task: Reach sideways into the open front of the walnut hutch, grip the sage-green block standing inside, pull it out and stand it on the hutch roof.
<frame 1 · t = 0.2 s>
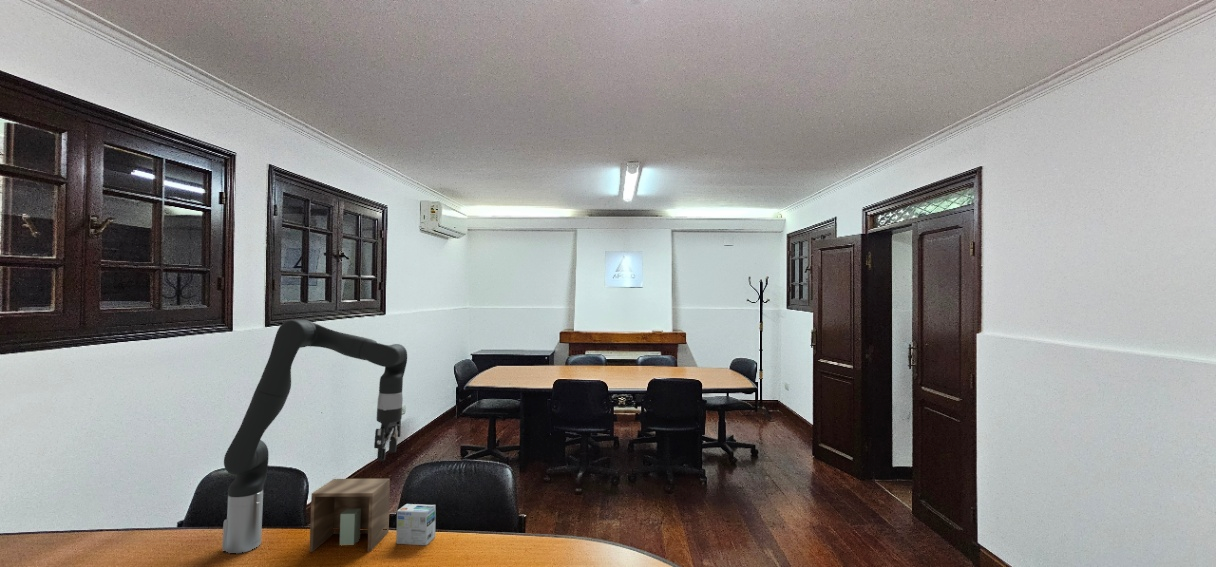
hand: (386, 456, 166), 29 cm above the table, tool pointing down, fingers open, 8 cm apart
block: (349, 542, 167), on the table
light bulb box: (415, 541, 168), on the table
hutch: (350, 541, 167), on the table
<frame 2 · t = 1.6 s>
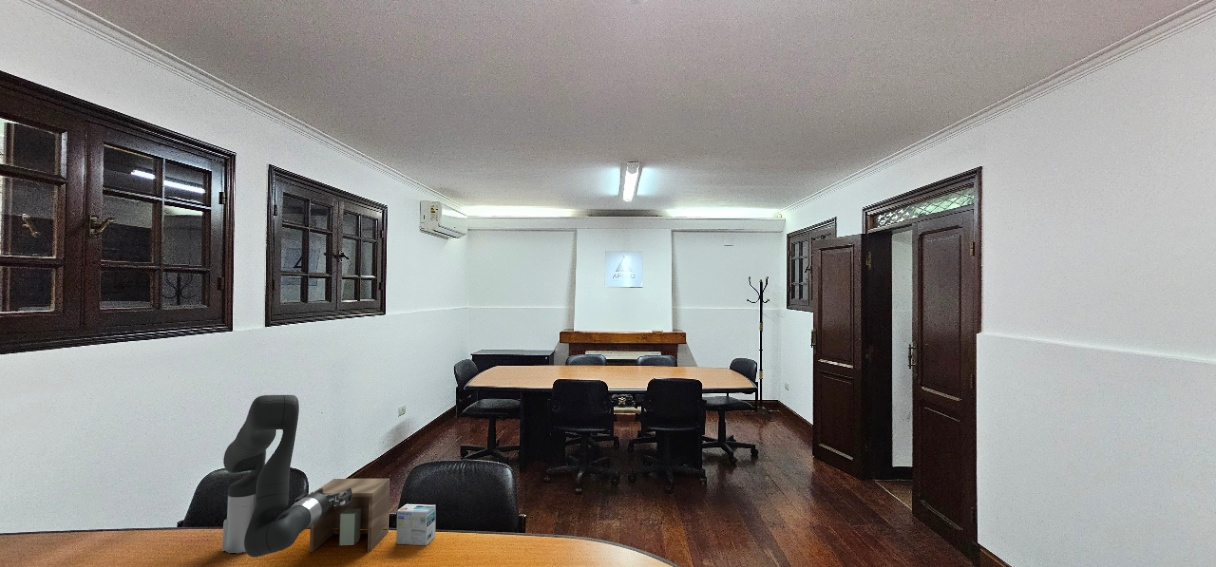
hand: (335, 491, 157), 20 cm above the table, tool horizontal, fingers open, 8 cm apart
nothing on the table moved.
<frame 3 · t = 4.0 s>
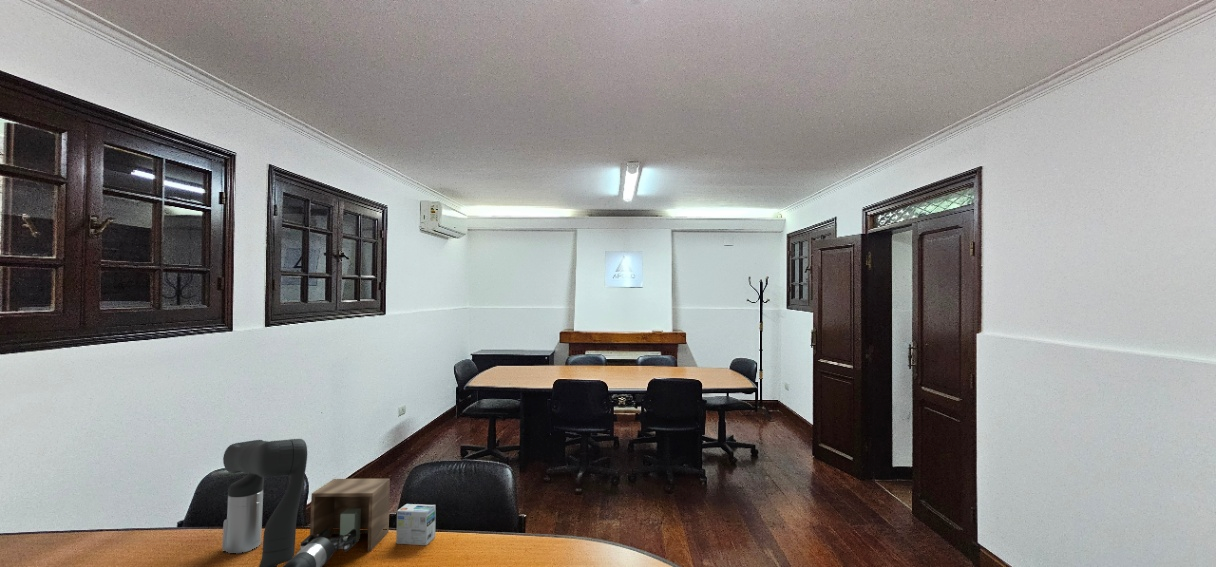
hand: (340, 532, 160), 6 cm above the table, tool horizontal, fingers open, 8 cm apart
nothing on the table moved.
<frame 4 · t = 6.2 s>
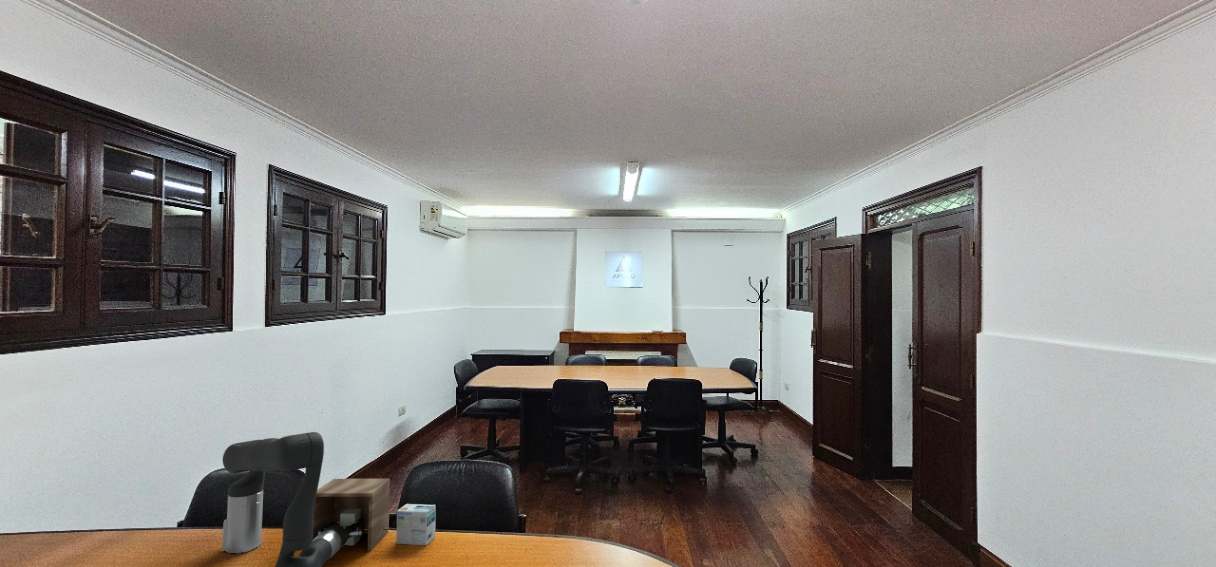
hand: (354, 520, 170), 6 cm above the table, tool horizontal, fingers closed on block, 4 cm apart
block: (349, 542, 167), on the table, touching gripper
everything else where it was.
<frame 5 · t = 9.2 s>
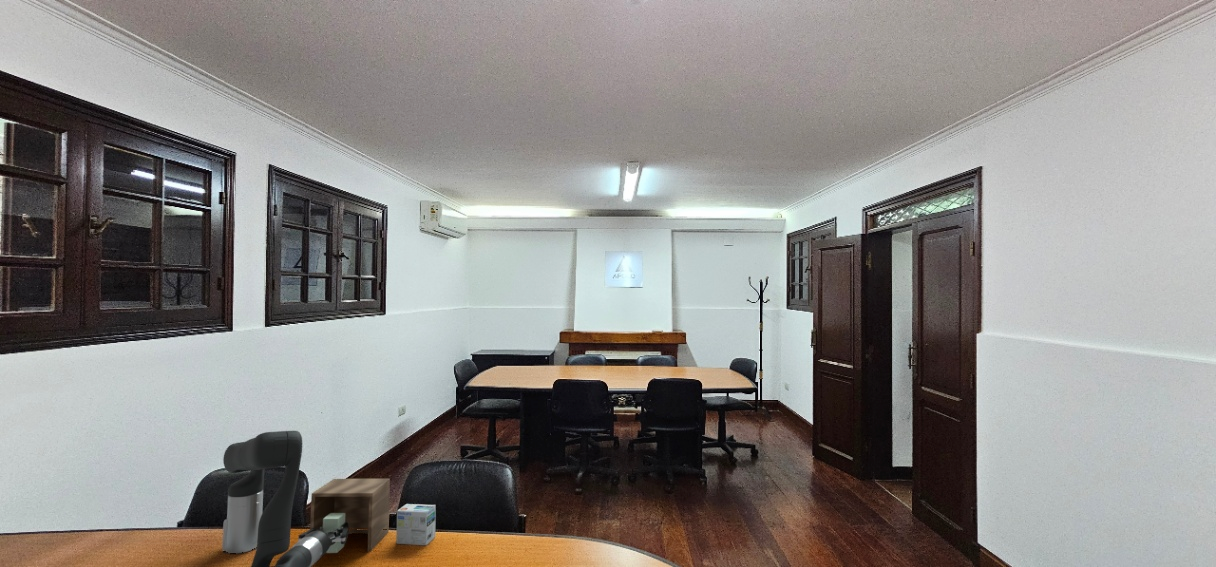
hand: (338, 525, 159), 9 cm above the table, tool horizontal, fingers closed on block, 4 cm apart
block: (333, 549, 156), point 3 cm above the table, touching gripper
everything else where it was.
when the fingers open (25 cm above the table, at t = 12.4 s): block drops 1 cm, resting on hutch.
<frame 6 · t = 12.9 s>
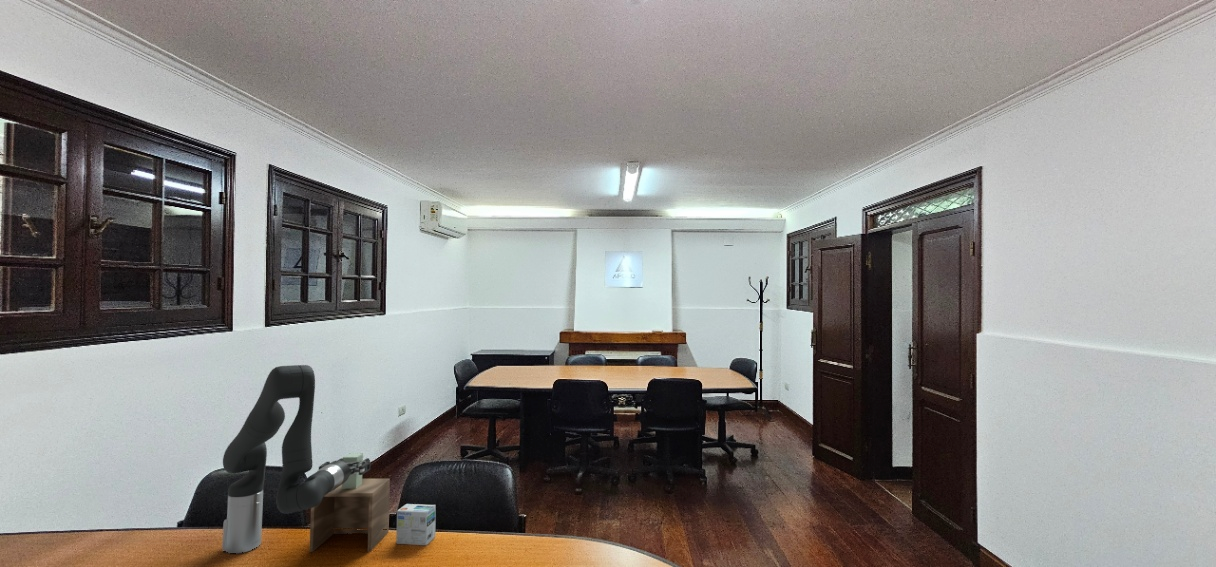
hand: (355, 461, 170), 26 cm above the table, tool horizontal, fingers open, 8 cm apart
block: (352, 486, 168), point 18 cm above the table, touching hutch
everything else where it was.
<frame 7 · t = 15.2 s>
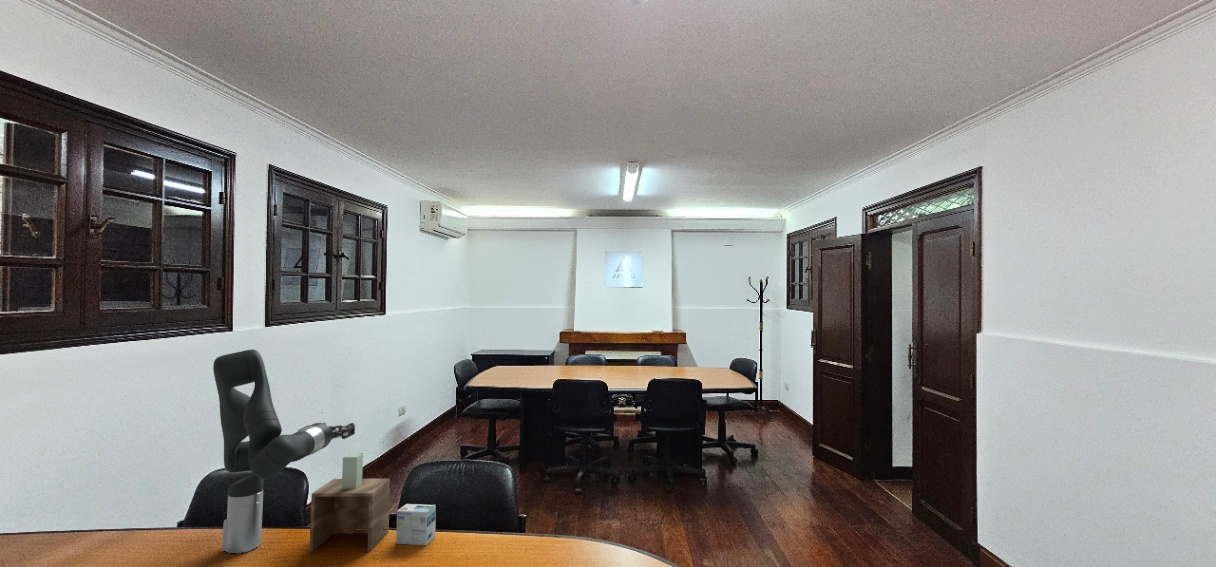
hand: (338, 426, 158), 40 cm above the table, tool horizontal, fingers open, 8 cm apart
nothing on the table moved.
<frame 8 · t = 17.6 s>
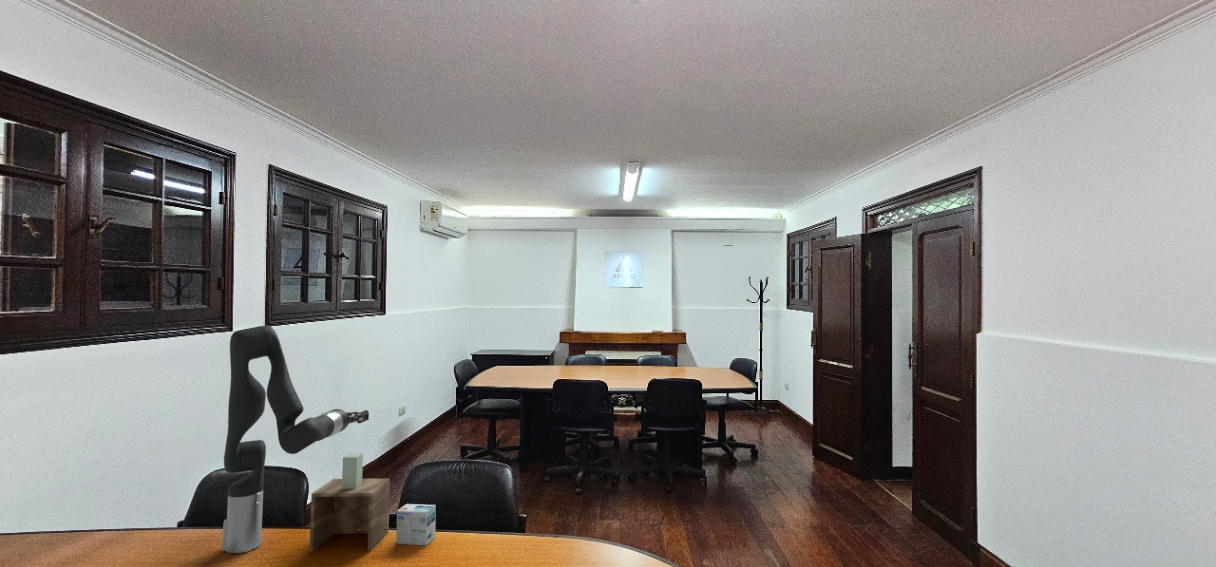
hand: (354, 413, 177), 40 cm above the table, tool horizontal, fingers open, 8 cm apart
nothing on the table moved.
at the end: block inside the target area (0.5 cm from its centre), point 18.0 cm above the table; block tilted 0°; the gripper is holding nothing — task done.
